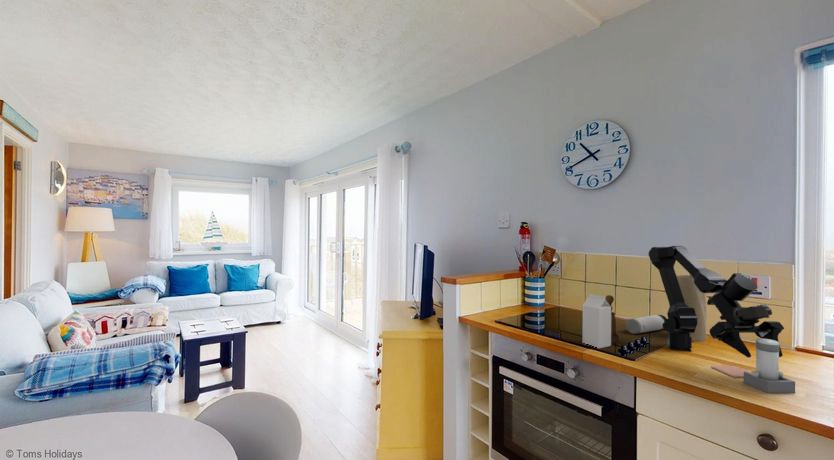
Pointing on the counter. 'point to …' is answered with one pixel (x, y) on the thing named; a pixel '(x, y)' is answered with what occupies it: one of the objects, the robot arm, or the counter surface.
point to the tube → (694, 305)
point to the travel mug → (645, 324)
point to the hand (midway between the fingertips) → (765, 356)
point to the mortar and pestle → (612, 321)
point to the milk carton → (597, 321)
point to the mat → (731, 371)
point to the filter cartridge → (767, 359)
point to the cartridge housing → (770, 383)
